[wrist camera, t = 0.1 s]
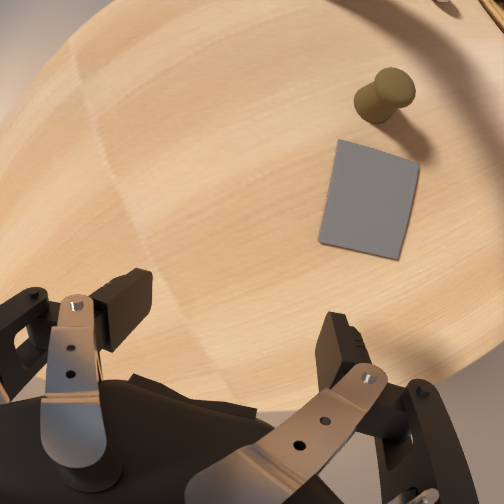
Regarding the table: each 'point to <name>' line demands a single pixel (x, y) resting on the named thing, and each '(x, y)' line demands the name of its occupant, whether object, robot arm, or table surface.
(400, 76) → the cork
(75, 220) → the table surface
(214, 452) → the robot arm
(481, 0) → the wooden plate with food
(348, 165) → the slate tile
